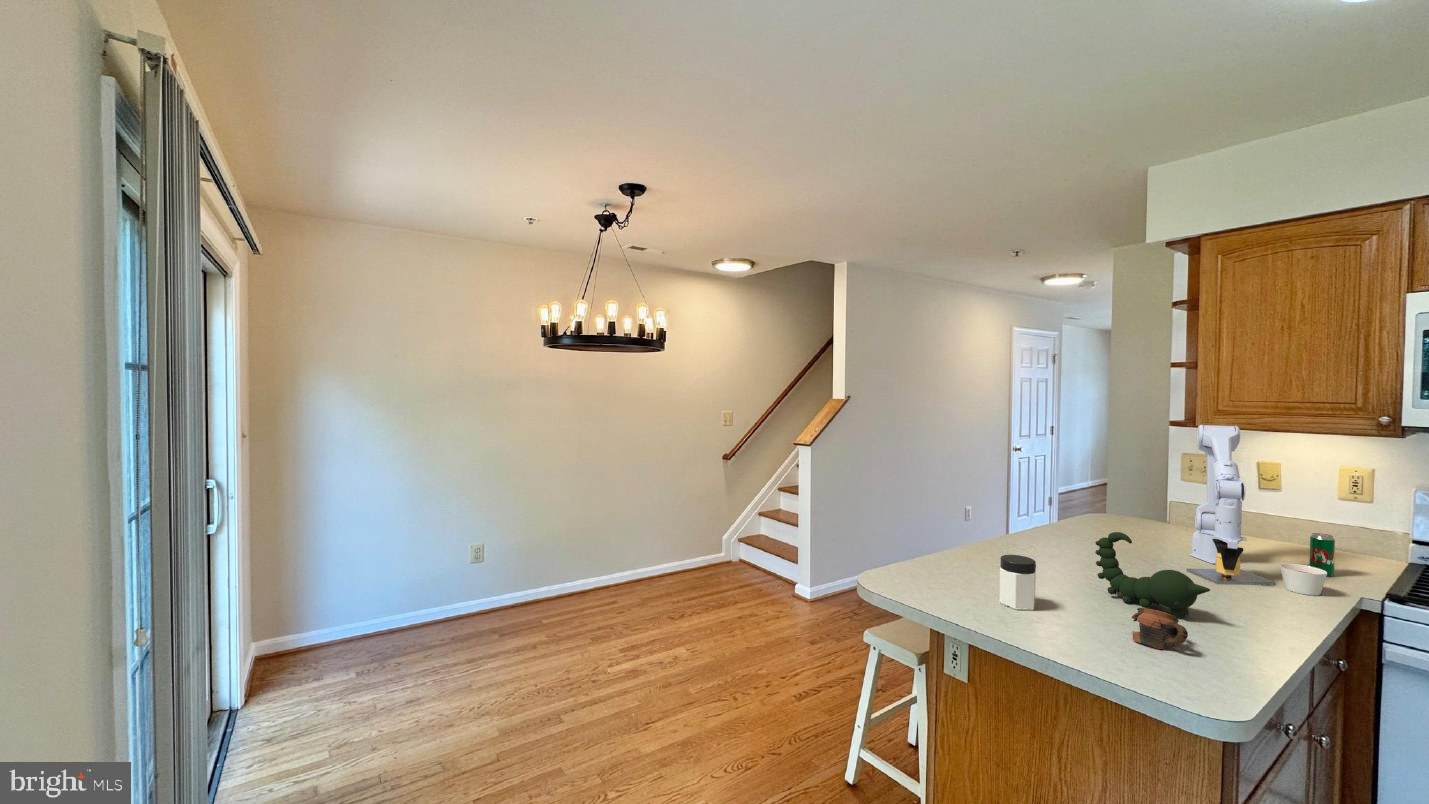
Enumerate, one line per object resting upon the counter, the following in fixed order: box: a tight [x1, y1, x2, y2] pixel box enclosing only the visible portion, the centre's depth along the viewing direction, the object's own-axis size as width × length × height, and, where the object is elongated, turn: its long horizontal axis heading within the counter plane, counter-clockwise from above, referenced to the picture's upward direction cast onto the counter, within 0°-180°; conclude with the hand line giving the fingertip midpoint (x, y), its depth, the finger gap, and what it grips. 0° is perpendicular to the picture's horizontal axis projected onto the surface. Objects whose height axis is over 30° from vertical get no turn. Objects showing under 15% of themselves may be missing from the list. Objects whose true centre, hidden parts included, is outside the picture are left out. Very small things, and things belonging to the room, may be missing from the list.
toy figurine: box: [1094, 531, 1211, 619], centre depth 143 cm, size 9×19×25 cm
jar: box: [999, 554, 1037, 610], centre depth 146 cm, size 9×8×12 cm
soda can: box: [1308, 532, 1336, 578], centre depth 168 cm, size 5×5×12 cm
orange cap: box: [1215, 553, 1241, 575], centre depth 163 cm, size 5×5×5 cm
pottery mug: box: [1131, 607, 1189, 650], centre depth 124 cm, size 12×10×8 cm
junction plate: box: [1185, 568, 1276, 586], centre depth 165 cm, size 11×16×4 cm
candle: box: [1279, 563, 1327, 597], centre depth 154 cm, size 9×9×6 cm
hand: (1226, 567), depth 164 cm, fingers closed on orange cap, 5 cm apart
